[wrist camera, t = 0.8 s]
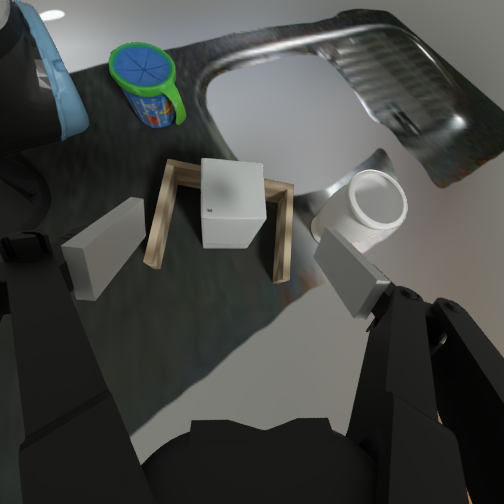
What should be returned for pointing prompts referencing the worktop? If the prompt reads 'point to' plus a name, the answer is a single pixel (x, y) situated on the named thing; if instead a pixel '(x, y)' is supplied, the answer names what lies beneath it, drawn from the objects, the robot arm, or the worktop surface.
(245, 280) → the worktop surface
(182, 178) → the wooden u-shaped frame
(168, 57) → the snack cup
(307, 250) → the worktop surface
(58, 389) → the robot arm
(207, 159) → the supplement box
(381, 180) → the jar
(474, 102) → the worktop surface
